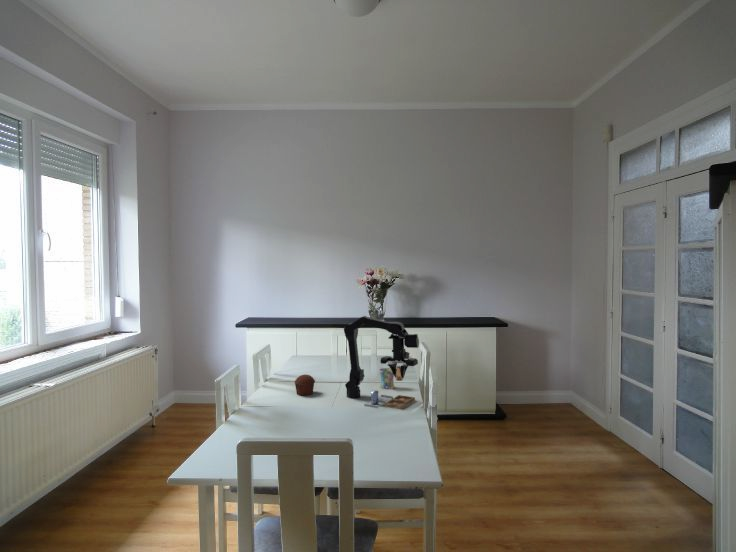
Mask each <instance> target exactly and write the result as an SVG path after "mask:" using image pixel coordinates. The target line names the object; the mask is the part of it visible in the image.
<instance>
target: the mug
mask: <svg viewBox="0 0 736 552" xmlns="http://www.w3.org/2000/svg"><path fill="white" fill-rule="evenodd" d="M379 374H380V377H381V378H380V380H381V381H380V386H379V388H380V389H383V390H392V389H395V387H396V386H395V383H394V378H395V376H394V374H393V372H392V370H391V369H390V367H382V368H379Z"/></svg>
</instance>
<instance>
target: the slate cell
mask: <svg viewBox="0 0 736 552" xmlns="http://www.w3.org/2000/svg"><path fill="white" fill-rule="evenodd" d="M370 397H371V398H370V400H371V401H370V402H371V405H378V398H379V390H376V389H374V390H373V389H372V390H371V391H370Z"/></svg>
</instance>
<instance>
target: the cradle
mask: <svg viewBox="0 0 736 552" xmlns="http://www.w3.org/2000/svg"><path fill="white" fill-rule="evenodd" d="M393 398H394V396H392V395H387V394H380V396H378V405H371V401H370V402H368V403H364V404H363V406H364V407H368V408H373V409H378V408H379V407H381V406H383V405H385V403H386V402H388V401H390V400H391V399H393Z"/></svg>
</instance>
